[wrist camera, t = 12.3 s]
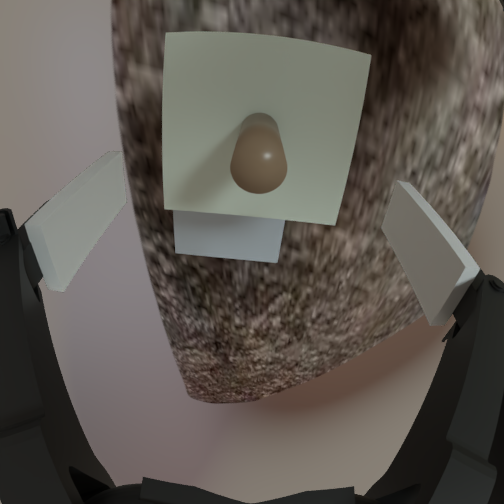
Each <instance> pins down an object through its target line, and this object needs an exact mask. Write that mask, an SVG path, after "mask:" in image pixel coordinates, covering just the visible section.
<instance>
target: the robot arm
mask: <svg viewBox="0 0 504 504" xmlns="http://www.w3.org/2000/svg"><path fill="white" fill-rule="evenodd" d="M500 2H501V4H502V6H503V11H504V0H500ZM126 203H127V198H126V189H125V179H124V168H123V156H122V152H107V153H106V154H105V155H104V156H102V157H101V158H99V159H98V160H97V161H96V162H94V163H93V164H92V165H90V166H89V167H88V168H87V169H85V170H84V171H83V172H82V173H80V174H79V175H78V176H77V177H75V178H74V179H73V180H72V181H71V182H70V183H68V184H67V185H66V186H65V187H64V188H63V189H62V190H60V191H59V192H58V193H57V194H56V195H55V196H54V197H53V198H51V199H50V200H48V201H47V202H45V203H44V204H43V205H42V206H41V207H40V208H39V210H37V211H36V212H35V213H34V215H32V216H31V217H30V218H29V219H28V220H27V221H26V222H25V223H24V224H23V225H22V226H21V227H20V228H19V229H18V230H17V227H16V224H15V220H14V217H13V214H12V211H11V209H8V208H5V209H0V500H1V503H2V504H250V503H244V502H241V501H237V500H233V499H230V498H227V497H224V496H221V495H217V494H214V493H212V492H209V491H206V490H203V489H200V488H197V487H195V486H188V485H182V484H176V483H169V482H165V481H160V480H155V479H150V478H146V477H143V481H142V484H129V485H122V486H118V487H116V486H115V484H114V482H113V481H112V479H111V478H110V476H109V474H108V473H107V471H106V470H105V468H104V467H103V466H102V465H101V463H100V462H99V461H98V459H97V458H96V456H95V455H94V453H93V451H92V449H91V447H90V445H89V443H88V441H87V439H86V437H85V434H84V432H83V430H82V427H81V425H80V423H79V420H78V418H77V415H76V413H75V410H74V408H73V405H72V403H71V400H70V397H69V395H68V392H67V389H66V386H65V383H64V380H63V377H62V374H61V371H60V367H59V364H58V361H57V357H56V354H55V350H54V347H53V343H52V340H51V335H50V331H49V327H48V323H47V318H46V314H45V309H44V304H43V299H42V294H41V290H40V288H39V285H38V283H39V282H40V280H41V279H42V277H43V278H44V281H45V283H46V286H47V288H48V289H49V290H54V291H59V292H64V291H65V290H66V288H67V287H68V285H69V283H70V282H71V280H72V279H73V277H74V275H75V274H76V272H77V271H78V269H79V268H80V266H81V265H82V263H83V262H84V261H85V259H86V258H87V256H88V254H89V253H90V252H91V250H92V249H93V247H94V246H95V245H96V243H97V242H98V240H99V239H100V238H101V236H102V235H103V233H104V232H105V231H106V229H107V228H108V227H109V225H110V224H111V222H112V221H113V220H114V219H115V217H116V216H117V215H118V213H119V212H120V211H121V210H122V208H123V207H124V206H125V204H126ZM381 229H382V231H383V232H384V234H385V236H386V238H387V240H388V241H389V243H390V245H391V247H392V249H393V250H394V252H395V254H396V256H397V258H398V260H399V262H400V264H401V266H402V268H403V270H404V272H405V274H406V276H407V278H408V280H409V282H410V284H411V286H412V288H413V290H414V292H415V294H416V296H417V298H418V300H419V302H420V305H421V307H422V309H423V311H424V313H425V315H426V318H427V320H428V322H429V325H430V326H432V325H445V324H446V322H447V321H448V319H449V318H450V317H451V315H452V314H453V315H454V317H455V319H456V322H455V323H454V325H453V326H452V328H451V329H450V330H449V332H448V333H447V334H446V336H445V337H444V338H443V340H442V342H444V341H445V340H446V339H448V340H447V343H446V346H445V349H444V352H443V354H442V357H441V361H440V363H439V365H438V368H437V371H436V373H435V376H434V378H433V381H432V383H431V386H430V388H429V391H428V393H427V395H426V398H425V400H424V402H423V404H422V406H421V409H420V411H419V413H418V415H417V417H416V419H415V421H414V423H413V425H412V427H411V429H410V431H409V433H408V435H407V437H406V439H405V441H404V442H403V444H402V446H401V448H400V450H399V452H398V453H397V455H396V457H395V458H394V460H393V462H392V464H391V465H390V467H389V469H388V470H387V472H386V473H385V474H384V475H383V476H382V477H381V478H380V479H379V480H378V481H377V482H376V483H375V484H374V485H373V486H372V487H371V488H370V489H369V490H368V492H367V493H366V494H365V495H364V496H362V495H357V494H354V486H353V487H346V488H337V489H328V490H316V491H305V492H301V493H298V494H294V495H290V496H286V497H282V498H278V499H273V500H269V501H264V502H259V503H252V504H504V283H503V282H502V281H501V280H499V279H498V278H497V277H495V276H493V275H485V274H484V273H483V271H482V270H481V268H480V267H479V266H478V264H477V263H476V261H475V260H474V259H473V258H472V257H471V255H470V253H469V252H468V251H467V249H466V248H465V247H464V245H463V244H462V243H461V242H460V241H459V239H458V238H457V237H456V236H455V234H454V233H453V232H452V231H451V229H450V228H449V227H448V226H447V225H446V223H445V222H444V221H443V220H442V219H441V217H440V216H439V215H438V214H437V213H436V212H435V210H434V209H433V208H432V207H431V206H430V205H429V204H428V203H427V201H426V200H425V199H424V198H423V197H422V196H421V195H420V194H419V193H418V192H417V190H416V189H415V188H414V187H413V186H412V185H411V184H410V183H407V182H403V181H398V180H397V181H396V184H395V187H394V190H393V194H392V197H391V200H390V203H389V206H388V209H387V212H386V215H385V218H384V221H383V224H382V226H381Z"/></svg>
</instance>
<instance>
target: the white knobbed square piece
mask: <svg viewBox="0 0 504 504" xmlns="http://www.w3.org/2000/svg"><path fill="white" fill-rule="evenodd" d="M370 61H371V55H369V54H366V53H362V52H358V51H354V50H350V49H346V48H342V47H338V46H333V45H328V44H323V43H318V42H313V41H307V40H301V39H295V38H288V37H280V36H272V35H262V34H251V33H236V32H170V33H166V37H165V52H164V69H163V97H162V164H163V192H164V209H167V210H181V211H194V212H206V213H218V214H230V215H241V216H251V217H262V218H272V219H281V220H291V221H300V222H309V223H318V224H326V225H335V224H336V220H337V216H338V213H339V209H340V205H341V201H342V197H343V193H344V189H345V185H346V181H347V177H348V173H349V168H350V164H351V160H352V155H353V151H354V146H355V142H356V137H357V132H358V128H359V123H360V118H361V113H362V107H363V102H364V97H365V91H366V86H367V80H368V74H369V68H370Z"/></svg>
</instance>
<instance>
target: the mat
mask: <svg viewBox="0 0 504 504" xmlns="http://www.w3.org/2000/svg"><path fill="white" fill-rule="evenodd" d="M173 219H174V238H175V253H179V254H189V255H199V256H209V257H220V258H230V259H240V260H251V261H262V262H272V263H277V262H278V256H279V251H280V245H281V240H282V234H283V229H284V223H285V220H281V219H272V218H262V217H251V216H241V215H230V214H218V213H206V212H194V211H181V210H173Z"/></svg>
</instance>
